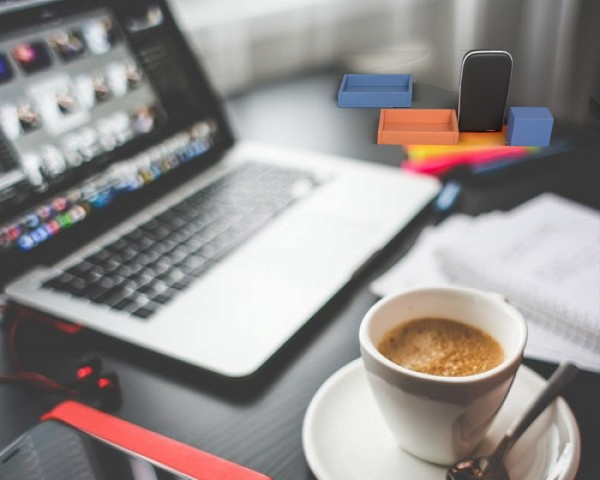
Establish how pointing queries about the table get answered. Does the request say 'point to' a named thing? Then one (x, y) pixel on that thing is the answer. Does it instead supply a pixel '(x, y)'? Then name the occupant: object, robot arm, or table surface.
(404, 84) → the blue tray
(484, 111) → the battery charger
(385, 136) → the orange tray
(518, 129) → the blue block
